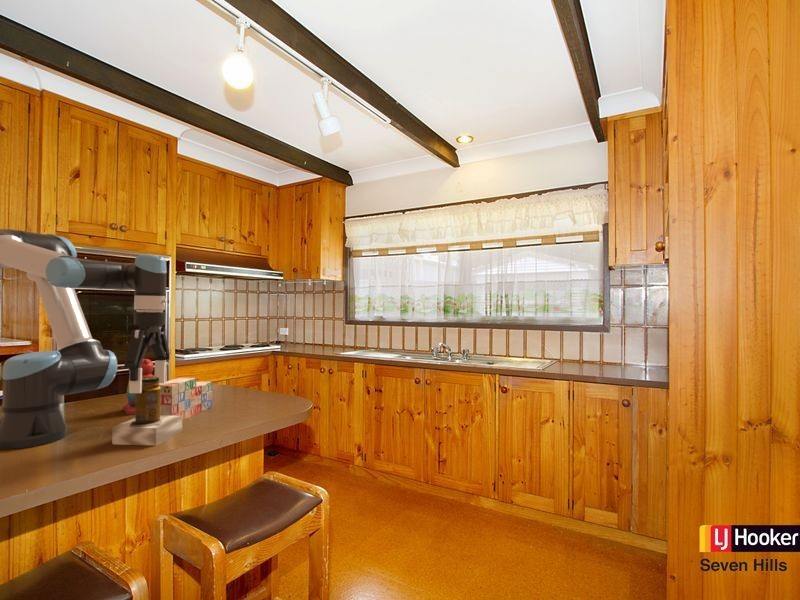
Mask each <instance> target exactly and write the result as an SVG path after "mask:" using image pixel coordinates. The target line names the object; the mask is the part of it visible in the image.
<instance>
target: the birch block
mask: <svg viewBox="0 0 800 600" xmlns="http://www.w3.org/2000/svg"><path fill="white" fill-rule="evenodd" d="M161 416H164V417H163V420H162V422H161V424H156V425H149V426H137V427H129V426H130V424H131V423H132V422H133V420H134V419H135V417H133V418H132V419H131V418H130V419H129V420H126V421H124V422H121V423H119V424H117V425H114V426H112V429H111V430H112V433H111V439H112V440H111V444H112V445H121V446H122V445H125V446H126V445H127V446H128V445H129V446H130V445H131V446H157V445H160V444H162V443H164V442H166V441H167V440H169V439H171V438H173V437H174V436H177V435H178V433H179V434H180V433H182V432H183V420H182V416H171V415H161ZM161 416H160V417H161ZM176 434H177V435H176Z"/></svg>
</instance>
